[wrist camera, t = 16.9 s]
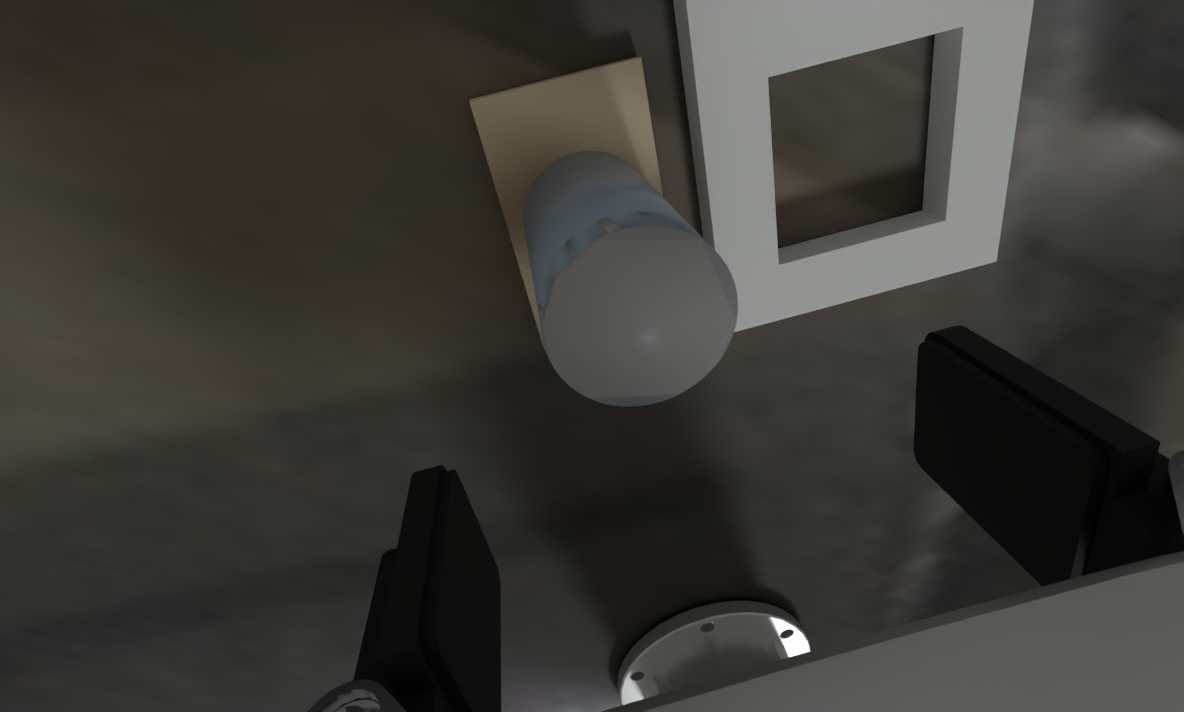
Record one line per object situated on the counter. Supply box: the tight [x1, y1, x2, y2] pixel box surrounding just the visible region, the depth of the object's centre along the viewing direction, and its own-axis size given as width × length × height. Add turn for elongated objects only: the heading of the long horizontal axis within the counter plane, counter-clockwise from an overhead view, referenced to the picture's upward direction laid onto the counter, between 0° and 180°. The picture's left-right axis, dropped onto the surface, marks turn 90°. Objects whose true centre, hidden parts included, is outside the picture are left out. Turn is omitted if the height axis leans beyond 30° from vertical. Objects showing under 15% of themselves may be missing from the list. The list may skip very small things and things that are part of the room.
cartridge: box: [523, 151, 738, 407], centre depth 19 cm, size 5×5×9 cm
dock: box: [673, 0, 1034, 332], centre depth 18 cm, size 22×12×6 cm, turn 12°
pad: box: [469, 56, 663, 351], centre depth 23 cm, size 10×6×1 cm, turn 12°
